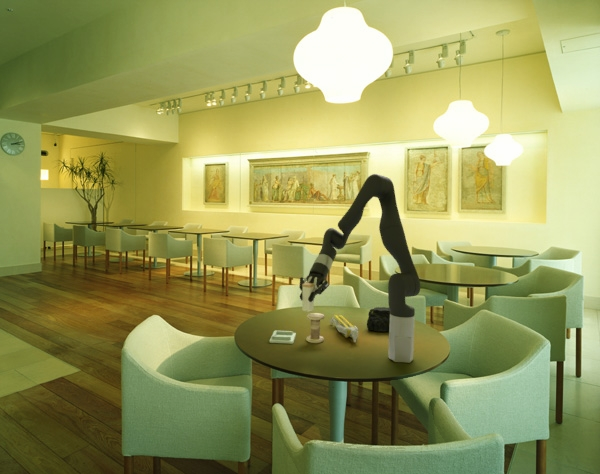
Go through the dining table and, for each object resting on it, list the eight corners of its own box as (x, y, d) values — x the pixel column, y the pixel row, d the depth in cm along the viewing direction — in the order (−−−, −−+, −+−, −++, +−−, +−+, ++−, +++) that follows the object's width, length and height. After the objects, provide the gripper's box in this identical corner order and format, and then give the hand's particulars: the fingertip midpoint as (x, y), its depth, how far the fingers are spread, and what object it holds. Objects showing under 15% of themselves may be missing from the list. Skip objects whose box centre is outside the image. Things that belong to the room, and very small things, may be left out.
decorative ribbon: (344, 314, 207) (365, 331, 178) (342, 326, 208) (362, 345, 178) (329, 312, 206) (347, 329, 176) (327, 324, 206) (345, 343, 177)
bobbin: (323, 343, 177) (324, 318, 176) (305, 342, 178) (306, 317, 177) (324, 337, 185) (324, 313, 184) (306, 337, 185) (307, 312, 185)
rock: (370, 323, 210) (366, 331, 196) (370, 304, 210) (366, 311, 195) (406, 327, 205) (404, 335, 190) (406, 307, 204) (405, 314, 190)
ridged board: (292, 343, 176) (293, 338, 176) (269, 342, 177) (269, 337, 177) (295, 335, 188) (295, 330, 188) (273, 334, 189) (273, 329, 189)
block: (313, 309, 173) (314, 283, 172) (309, 311, 170) (309, 285, 169) (306, 308, 175) (307, 282, 174) (301, 310, 172) (302, 284, 171)
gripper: (304, 260, 181) (287, 292, 172) (333, 263, 173) (317, 297, 164) (310, 270, 186) (294, 302, 177) (338, 274, 178) (323, 308, 169)
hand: (305, 300), depth 170 cm, fingers closed on block, 3 cm apart
